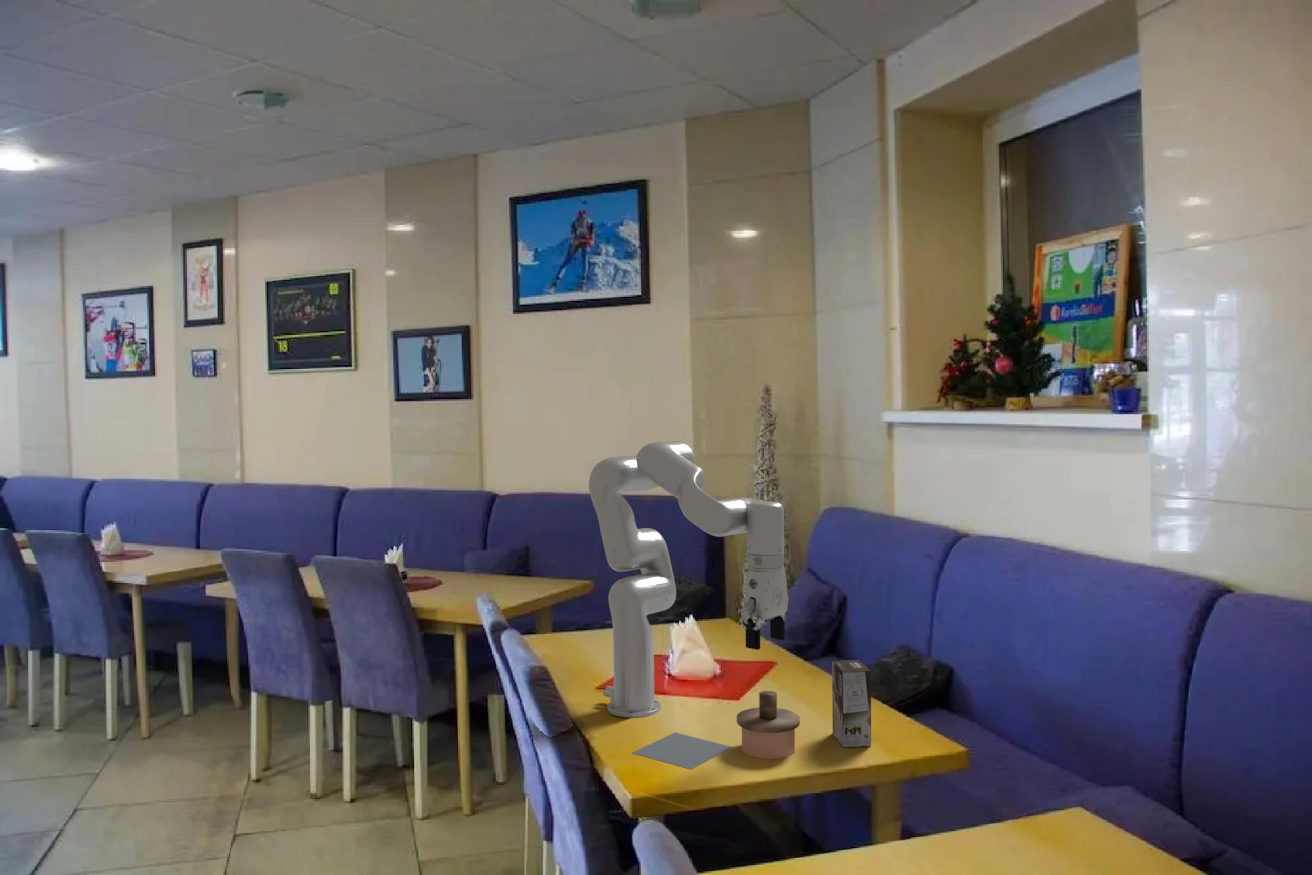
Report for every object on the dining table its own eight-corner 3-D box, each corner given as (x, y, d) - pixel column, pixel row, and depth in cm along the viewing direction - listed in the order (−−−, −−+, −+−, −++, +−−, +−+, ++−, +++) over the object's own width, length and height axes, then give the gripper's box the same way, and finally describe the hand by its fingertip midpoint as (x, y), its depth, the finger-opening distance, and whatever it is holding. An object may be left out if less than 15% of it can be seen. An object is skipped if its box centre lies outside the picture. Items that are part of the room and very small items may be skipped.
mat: (631, 754, 194) (631, 752, 194) (675, 734, 206) (674, 732, 206) (691, 771, 185) (691, 769, 185) (732, 748, 197) (732, 746, 197)
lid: (724, 724, 194) (724, 695, 194) (757, 707, 204) (757, 680, 204) (780, 737, 186) (780, 707, 186) (810, 719, 197) (810, 691, 196)
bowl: (732, 752, 195) (732, 723, 194) (759, 737, 203) (759, 710, 203) (777, 764, 188) (777, 734, 188) (804, 748, 197) (803, 720, 196)
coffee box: (872, 746, 197) (872, 670, 197) (842, 748, 197) (842, 671, 196) (859, 731, 206) (859, 659, 206) (830, 732, 206) (830, 660, 205)
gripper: (759, 569, 185) (759, 655, 186) (802, 557, 199) (801, 637, 200) (727, 565, 190) (727, 649, 191) (771, 554, 204) (771, 632, 204)
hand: (765, 643), depth 195 cm, fingers open, 9 cm apart
